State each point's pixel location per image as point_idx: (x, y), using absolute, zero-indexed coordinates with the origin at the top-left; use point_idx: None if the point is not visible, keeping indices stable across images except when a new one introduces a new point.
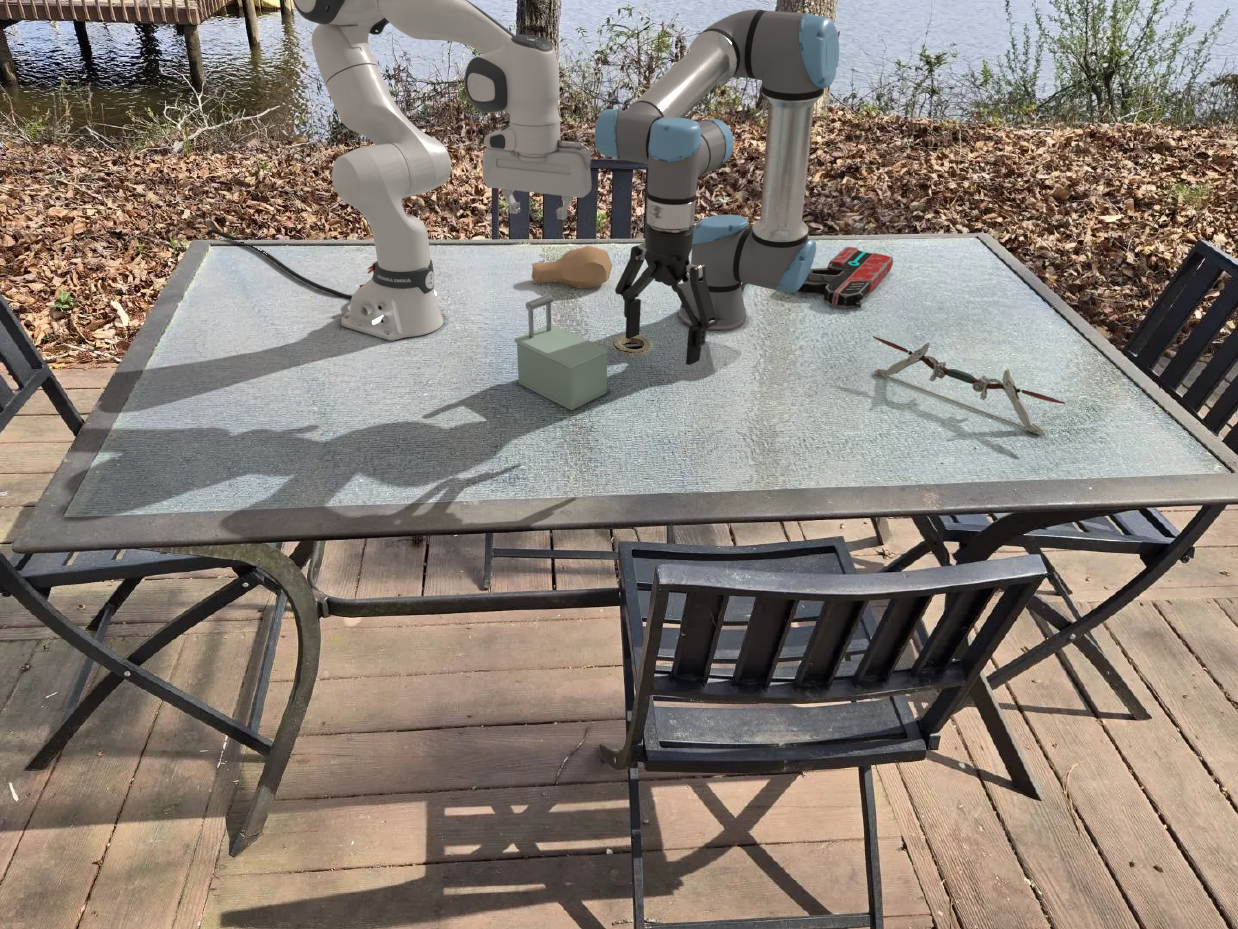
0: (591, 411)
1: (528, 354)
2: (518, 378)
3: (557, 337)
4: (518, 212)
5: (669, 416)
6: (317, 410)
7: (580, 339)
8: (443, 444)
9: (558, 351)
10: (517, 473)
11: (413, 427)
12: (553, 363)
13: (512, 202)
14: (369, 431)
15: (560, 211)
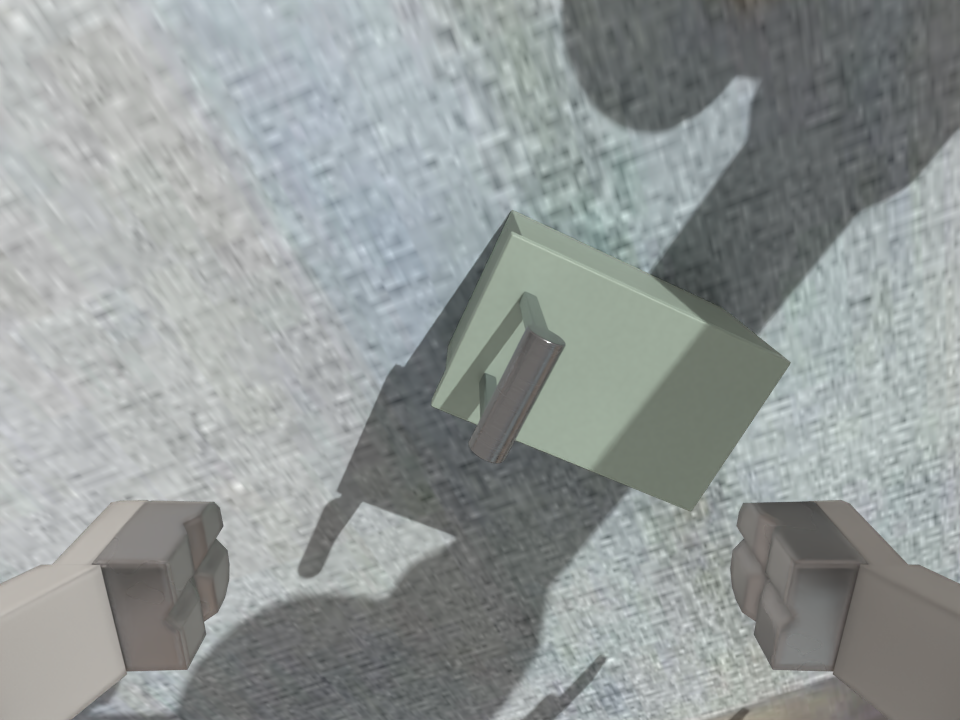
0: None
1: None
2: (447, 352)
3: (581, 345)
4: (217, 532)
5: (921, 366)
6: None
7: (673, 329)
8: (411, 647)
9: (621, 444)
10: (609, 681)
11: (309, 616)
12: None
13: (103, 658)
14: (229, 657)
15: (822, 657)
